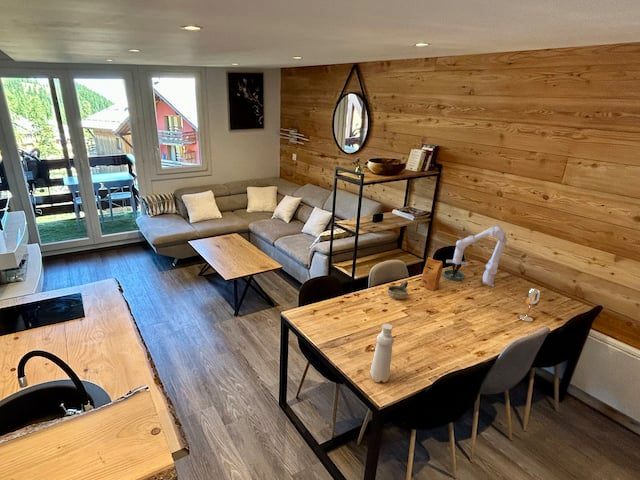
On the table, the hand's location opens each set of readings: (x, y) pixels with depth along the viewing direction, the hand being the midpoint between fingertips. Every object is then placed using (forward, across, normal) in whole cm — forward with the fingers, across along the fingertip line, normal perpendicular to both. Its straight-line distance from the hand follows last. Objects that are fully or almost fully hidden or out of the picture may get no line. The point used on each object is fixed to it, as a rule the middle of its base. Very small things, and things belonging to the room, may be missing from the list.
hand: (454, 272), depth 293 cm
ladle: (+4, 0, 0) cm, 4 cm away
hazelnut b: (+4, -3, +4) cm, 6 cm away
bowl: (+6, -39, -42) cm, 58 cm away
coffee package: (+6, -18, -19) cm, 27 cm away
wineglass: (+6, +39, -44) cm, 59 cm away
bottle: (+6, -46, -131) cm, 139 cm away
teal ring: (+6, 0, +1) cm, 6 cm away
